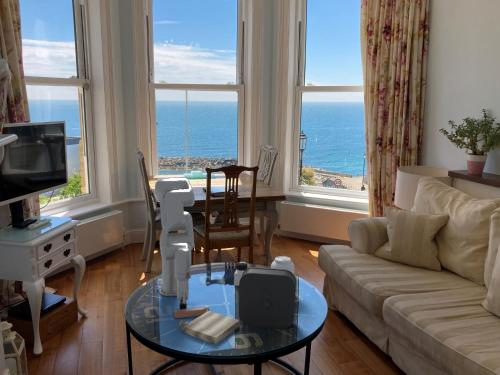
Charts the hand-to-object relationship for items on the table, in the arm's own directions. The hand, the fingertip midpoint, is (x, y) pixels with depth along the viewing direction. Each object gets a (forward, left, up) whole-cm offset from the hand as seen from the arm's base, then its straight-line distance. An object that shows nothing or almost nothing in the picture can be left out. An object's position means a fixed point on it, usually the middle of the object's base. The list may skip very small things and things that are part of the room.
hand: (183, 311), depth 207 cm
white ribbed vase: (+29, +46, -2) cm, 54 cm away
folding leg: (+5, +1, -1) cm, 5 cm away
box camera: (+4, +46, -2) cm, 46 cm away
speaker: (+38, +13, -2) cm, 40 cm away
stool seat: (+18, -5, -1) cm, 19 cm away
